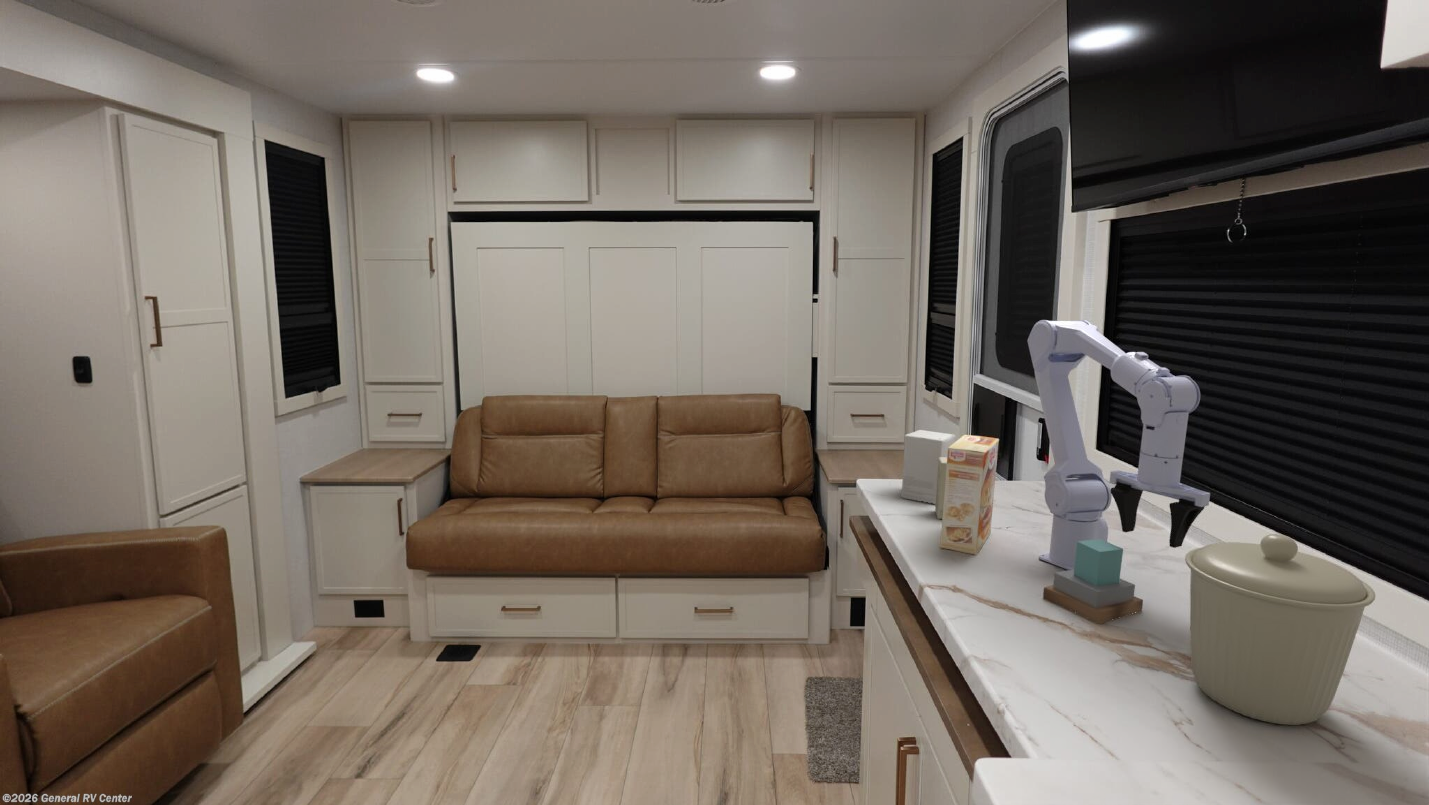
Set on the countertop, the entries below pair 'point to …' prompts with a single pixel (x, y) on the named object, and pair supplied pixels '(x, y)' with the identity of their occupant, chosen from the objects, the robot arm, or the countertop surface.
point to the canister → (1272, 627)
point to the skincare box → (940, 486)
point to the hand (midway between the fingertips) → (1151, 538)
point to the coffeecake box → (969, 493)
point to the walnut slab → (1089, 611)
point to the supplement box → (923, 463)
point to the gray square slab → (1093, 590)
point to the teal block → (1098, 562)
